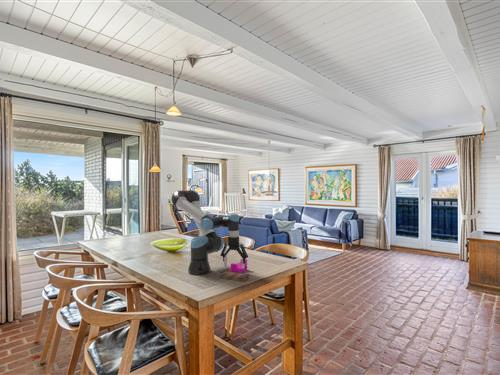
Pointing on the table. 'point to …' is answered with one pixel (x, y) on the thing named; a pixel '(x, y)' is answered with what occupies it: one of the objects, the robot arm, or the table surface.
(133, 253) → the table surface
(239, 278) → the brown flat bar
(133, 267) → the table surface
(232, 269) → the toy block
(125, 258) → the table surface
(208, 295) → the table surface
